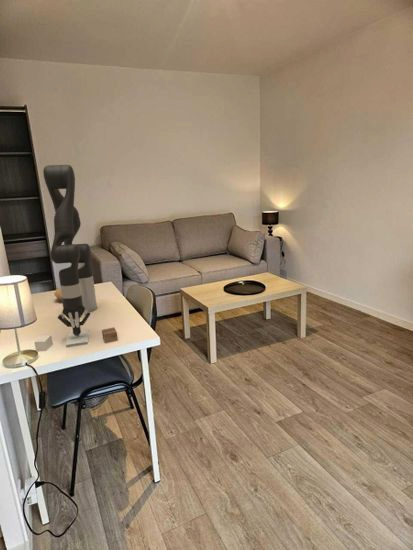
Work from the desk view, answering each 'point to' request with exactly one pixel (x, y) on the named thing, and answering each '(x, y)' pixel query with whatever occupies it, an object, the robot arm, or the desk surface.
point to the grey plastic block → (43, 342)
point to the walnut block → (109, 335)
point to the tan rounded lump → (58, 293)
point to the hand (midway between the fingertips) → (77, 335)
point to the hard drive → (77, 339)
